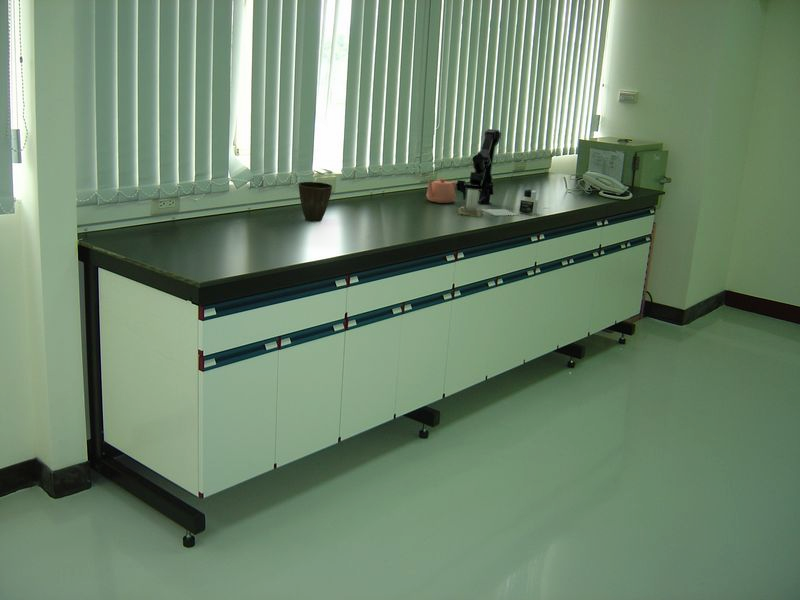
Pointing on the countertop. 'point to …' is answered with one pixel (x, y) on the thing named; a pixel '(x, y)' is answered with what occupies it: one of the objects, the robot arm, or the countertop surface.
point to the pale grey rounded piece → (472, 199)
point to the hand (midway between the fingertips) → (471, 200)
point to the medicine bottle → (529, 203)
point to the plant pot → (314, 199)
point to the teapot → (441, 191)
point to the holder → (470, 212)
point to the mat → (500, 212)
